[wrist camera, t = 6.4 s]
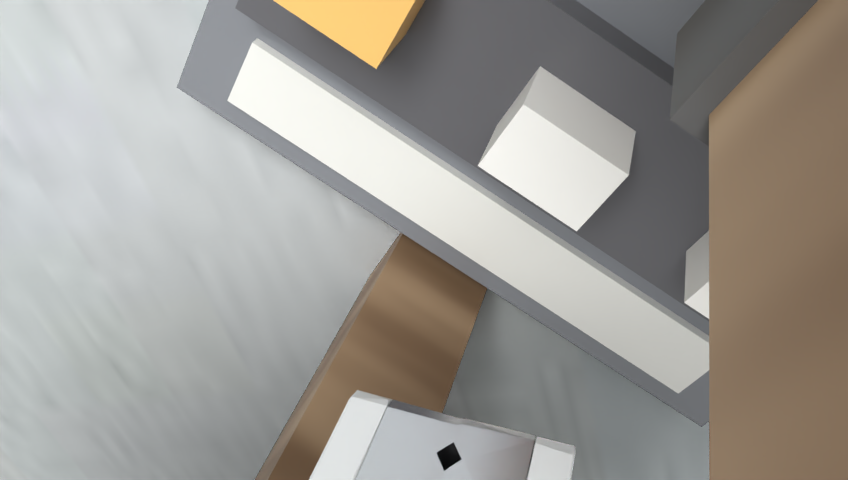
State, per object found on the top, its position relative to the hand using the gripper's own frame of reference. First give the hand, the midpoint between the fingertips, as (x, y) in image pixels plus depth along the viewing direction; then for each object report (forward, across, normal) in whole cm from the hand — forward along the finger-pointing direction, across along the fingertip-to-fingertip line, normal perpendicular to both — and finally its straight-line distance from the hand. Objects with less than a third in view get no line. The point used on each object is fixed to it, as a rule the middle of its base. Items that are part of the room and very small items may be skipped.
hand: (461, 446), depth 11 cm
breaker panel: (+12, 0, 0) cm, 12 cm away
